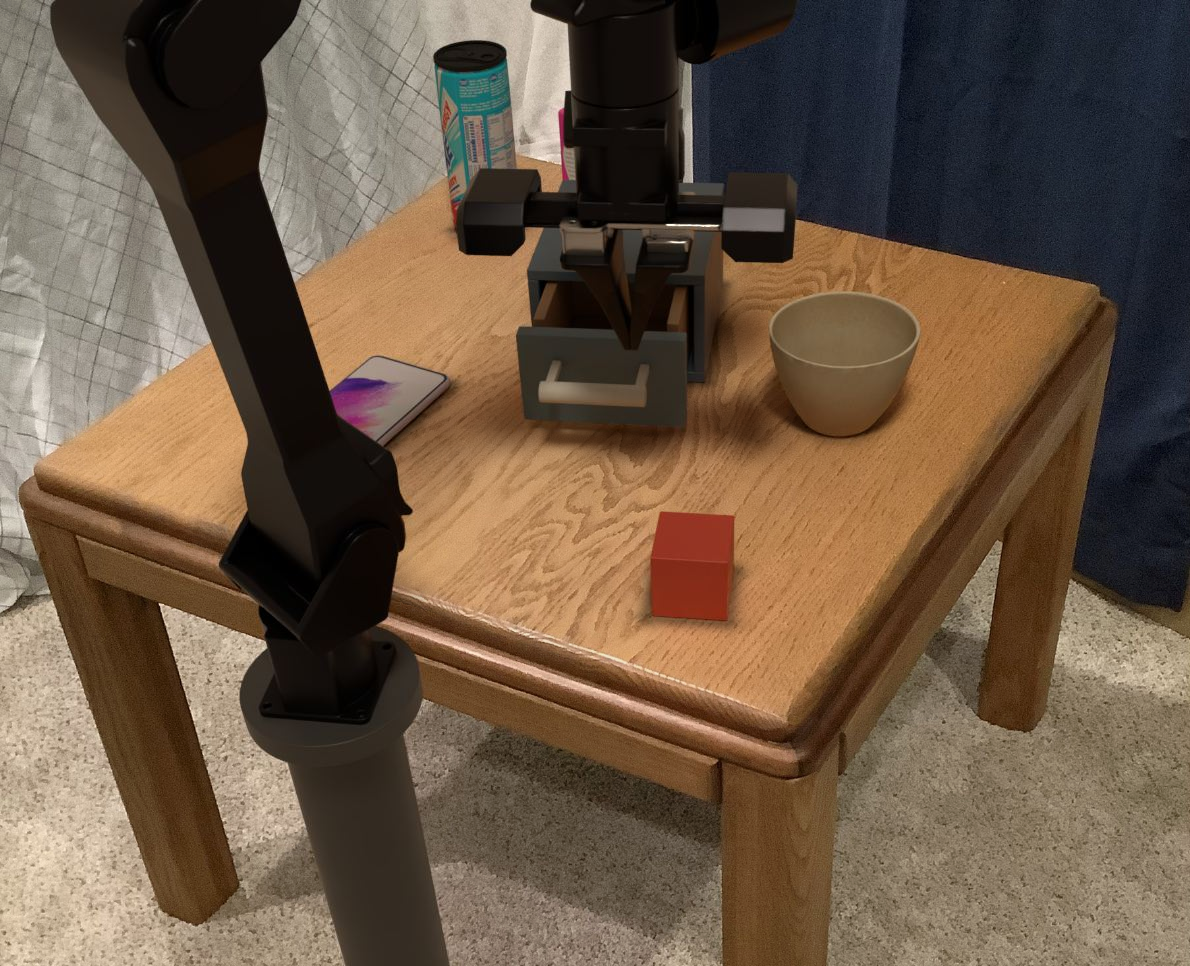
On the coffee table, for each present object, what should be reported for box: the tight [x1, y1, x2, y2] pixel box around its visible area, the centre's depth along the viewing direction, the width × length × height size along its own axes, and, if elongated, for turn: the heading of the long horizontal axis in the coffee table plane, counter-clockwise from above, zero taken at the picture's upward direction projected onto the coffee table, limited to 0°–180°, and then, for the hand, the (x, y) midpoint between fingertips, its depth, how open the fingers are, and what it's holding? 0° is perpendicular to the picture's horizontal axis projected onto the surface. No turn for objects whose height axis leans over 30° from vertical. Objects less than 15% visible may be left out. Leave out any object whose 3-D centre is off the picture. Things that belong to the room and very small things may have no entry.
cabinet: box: [526, 179, 725, 383], centre depth 107 cm, size 15×13×9 cm
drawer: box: [515, 280, 694, 428], centre depth 100 cm, size 18×11×7 cm, turn 171°
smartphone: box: [329, 354, 451, 447], centre depth 102 cm, size 7×1×15 cm
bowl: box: [768, 290, 921, 437], centre depth 98 cm, size 10×10×7 cm
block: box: [649, 510, 736, 621], centre depth 85 cm, size 4×4×4 cm
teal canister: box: [432, 39, 518, 231], centre depth 119 cm, size 6×6×15 cm
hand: (632, 347), depth 86 cm, fingers closed
